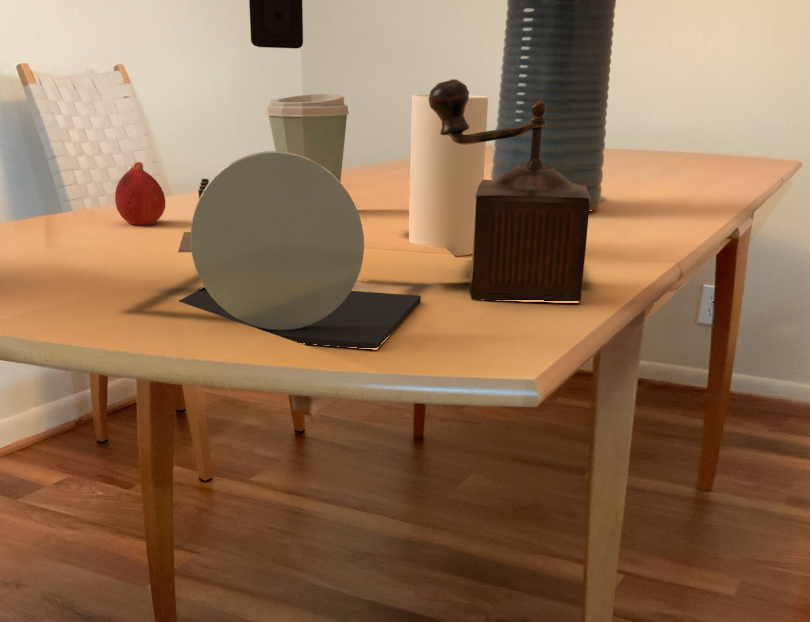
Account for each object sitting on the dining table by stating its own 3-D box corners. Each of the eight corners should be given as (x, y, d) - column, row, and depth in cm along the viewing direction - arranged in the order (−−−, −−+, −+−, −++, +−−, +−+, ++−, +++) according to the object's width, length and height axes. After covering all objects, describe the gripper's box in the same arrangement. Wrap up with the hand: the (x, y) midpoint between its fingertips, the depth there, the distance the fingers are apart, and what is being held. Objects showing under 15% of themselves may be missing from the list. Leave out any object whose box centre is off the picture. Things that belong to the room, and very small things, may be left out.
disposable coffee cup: (318, 226, 118) (315, 97, 110) (254, 218, 123) (247, 94, 115) (365, 216, 125) (365, 95, 118) (303, 208, 130) (299, 92, 123)
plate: (371, 320, 73) (355, 144, 66) (207, 339, 72) (174, 161, 65) (369, 317, 74) (353, 143, 68) (207, 335, 73) (176, 159, 66)
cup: (453, 259, 101) (460, 98, 93) (394, 249, 105) (396, 95, 98) (493, 248, 107) (502, 96, 99) (435, 240, 111) (440, 93, 103)
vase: (622, 209, 135) (653, -43, 120) (551, 220, 125) (575, -53, 111) (537, 196, 146) (556, -37, 131) (465, 205, 136) (477, -46, 121)
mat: (136, 330, 74) (135, 323, 73) (216, 287, 87) (215, 280, 87) (377, 351, 70) (377, 343, 69) (420, 302, 84) (420, 295, 83)
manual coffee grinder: (577, 279, 93) (597, 81, 85) (582, 305, 83) (606, 85, 75) (425, 272, 95) (430, 78, 86) (413, 298, 85) (418, 81, 76)
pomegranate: (133, 237, 109) (124, 165, 105) (110, 230, 112) (101, 160, 109) (176, 232, 112) (169, 162, 108) (153, 226, 116) (146, 158, 112)
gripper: (206, -242, 62) (222, 44, 70) (196, -331, 47) (218, 46, 55) (316, -233, 63) (319, 48, 71) (341, -317, 48) (341, 50, 56)
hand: (275, 47), depth 63 cm, fingers open, 9 cm apart
